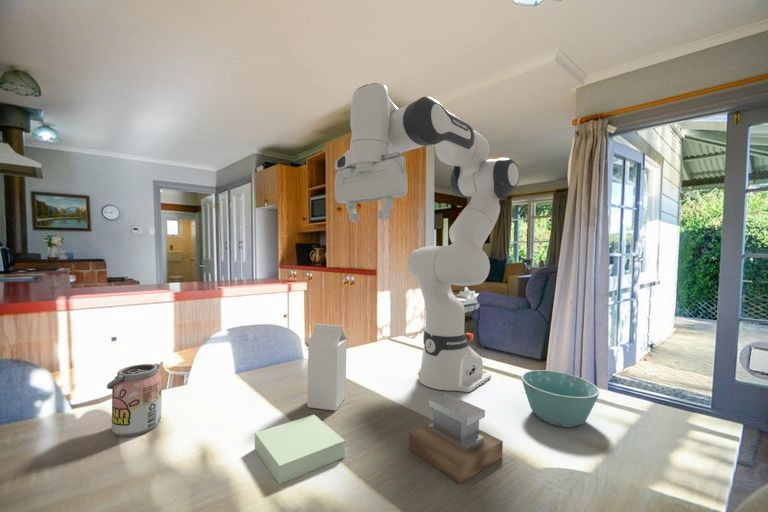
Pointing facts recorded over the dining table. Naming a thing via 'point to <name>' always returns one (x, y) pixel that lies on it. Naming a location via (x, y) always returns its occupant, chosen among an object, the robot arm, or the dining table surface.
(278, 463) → the stand
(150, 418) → the beverage can
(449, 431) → the block
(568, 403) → the bowl
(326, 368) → the milk carton
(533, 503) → the dining table surface
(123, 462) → the dining table surface
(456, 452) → the stand
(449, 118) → the robot arm
